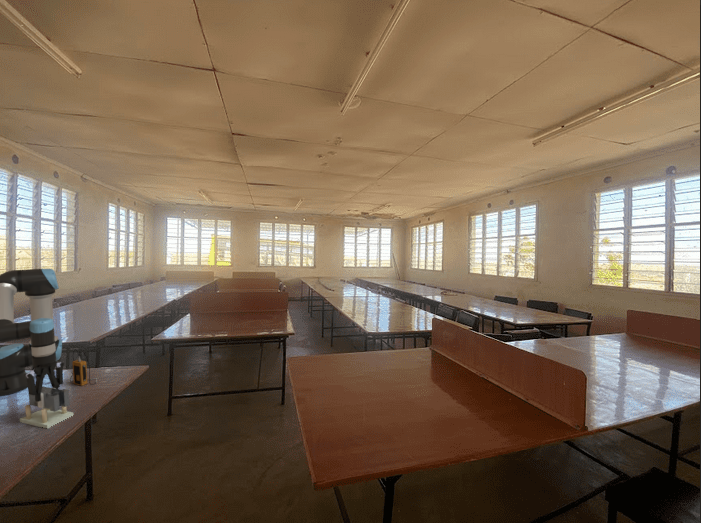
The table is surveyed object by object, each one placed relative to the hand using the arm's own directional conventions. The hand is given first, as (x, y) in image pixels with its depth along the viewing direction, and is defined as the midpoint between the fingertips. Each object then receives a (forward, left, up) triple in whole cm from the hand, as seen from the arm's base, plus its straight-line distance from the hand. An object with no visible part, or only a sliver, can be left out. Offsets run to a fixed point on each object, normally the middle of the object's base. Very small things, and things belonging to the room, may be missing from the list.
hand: (47, 404), depth 138 cm
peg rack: (-1, 0, -7) cm, 7 cm away
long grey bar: (0, 0, 0) cm, 1 cm away
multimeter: (-22, +32, -7) cm, 39 cm away
